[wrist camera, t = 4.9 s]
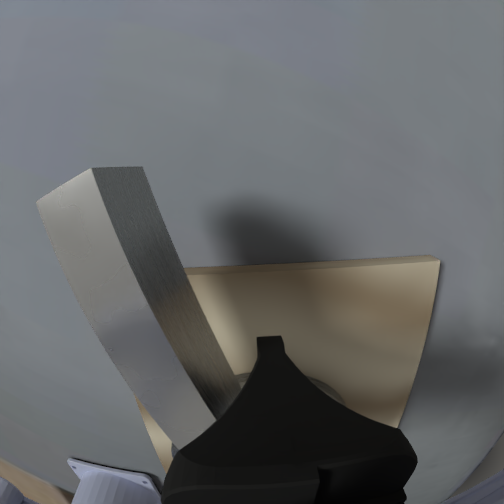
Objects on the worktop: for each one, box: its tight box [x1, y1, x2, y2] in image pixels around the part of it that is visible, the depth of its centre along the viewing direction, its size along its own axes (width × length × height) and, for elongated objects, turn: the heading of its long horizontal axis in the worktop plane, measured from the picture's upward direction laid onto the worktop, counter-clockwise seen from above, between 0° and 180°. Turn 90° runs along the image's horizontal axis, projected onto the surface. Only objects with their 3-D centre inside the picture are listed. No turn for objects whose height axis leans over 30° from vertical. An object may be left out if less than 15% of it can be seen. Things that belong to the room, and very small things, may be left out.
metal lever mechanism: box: [36, 167, 346, 458], centre depth 11 cm, size 20×10×6 cm, turn 20°
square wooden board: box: [133, 255, 440, 474], centre depth 15 cm, size 16×17×1 cm
